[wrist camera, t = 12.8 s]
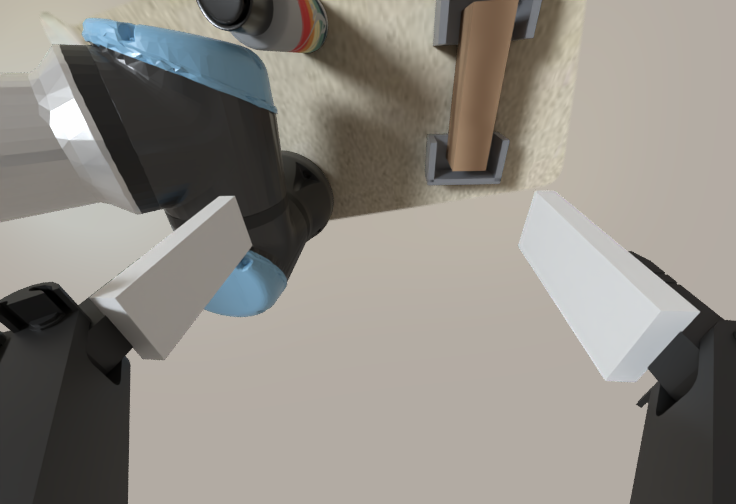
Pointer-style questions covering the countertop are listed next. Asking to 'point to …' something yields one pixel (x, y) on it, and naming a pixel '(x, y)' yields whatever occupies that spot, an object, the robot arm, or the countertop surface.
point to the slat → (478, 81)
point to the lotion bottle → (270, 23)
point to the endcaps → (436, 164)
